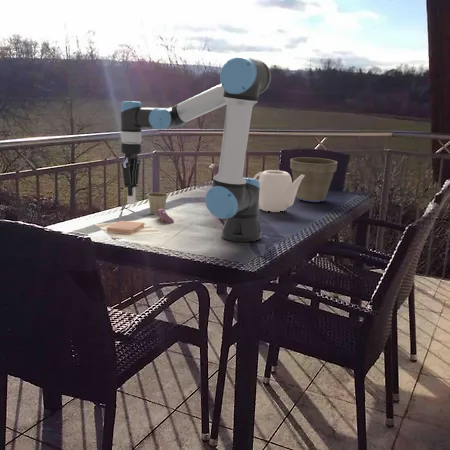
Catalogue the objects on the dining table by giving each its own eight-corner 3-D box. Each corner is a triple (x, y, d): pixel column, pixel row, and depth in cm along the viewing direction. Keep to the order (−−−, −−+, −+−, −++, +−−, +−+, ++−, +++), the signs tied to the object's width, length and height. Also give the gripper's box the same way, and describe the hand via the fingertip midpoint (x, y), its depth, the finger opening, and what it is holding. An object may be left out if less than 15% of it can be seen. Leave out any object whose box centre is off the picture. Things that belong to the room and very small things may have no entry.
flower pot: (164, 216, 224) (164, 197, 221) (143, 214, 225) (143, 195, 223) (170, 212, 233) (170, 193, 230) (151, 210, 234) (151, 192, 232)
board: (161, 234, 194) (161, 232, 194) (113, 240, 184) (113, 237, 184) (139, 221, 212) (139, 220, 212) (94, 226, 202) (94, 224, 202)
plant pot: (323, 207, 259) (327, 164, 254) (279, 200, 271) (282, 159, 266) (340, 200, 280) (344, 160, 274) (298, 194, 292) (301, 156, 287)
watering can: (296, 217, 232) (299, 176, 228) (243, 209, 244) (245, 170, 240) (307, 211, 246) (310, 172, 241) (256, 204, 258) (259, 167, 253)
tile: (143, 223, 201) (131, 230, 189) (143, 226, 201) (131, 234, 190) (120, 220, 203) (106, 227, 192) (120, 224, 203) (106, 231, 192)
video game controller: (160, 223, 218) (152, 209, 216) (169, 218, 219) (162, 204, 217) (165, 228, 209) (158, 214, 207) (175, 223, 210) (168, 209, 208)
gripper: (129, 141, 201) (129, 199, 206) (114, 143, 188) (115, 205, 194) (147, 142, 199) (146, 201, 205) (133, 144, 187) (133, 207, 192)
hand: (131, 203), depth 199 cm, fingers closed
